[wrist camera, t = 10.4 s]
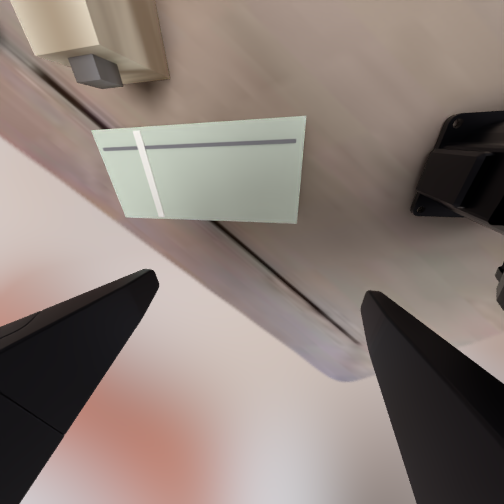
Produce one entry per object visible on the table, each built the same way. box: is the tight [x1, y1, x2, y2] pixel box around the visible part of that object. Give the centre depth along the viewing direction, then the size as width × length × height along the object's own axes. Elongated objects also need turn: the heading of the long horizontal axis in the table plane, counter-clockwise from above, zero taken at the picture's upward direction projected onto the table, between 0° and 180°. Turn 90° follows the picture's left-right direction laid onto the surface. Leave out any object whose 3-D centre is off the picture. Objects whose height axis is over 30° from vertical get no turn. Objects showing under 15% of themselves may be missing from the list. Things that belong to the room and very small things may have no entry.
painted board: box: [91, 116, 306, 224], centre depth 16 cm, size 16×7×3 cm, turn 92°
